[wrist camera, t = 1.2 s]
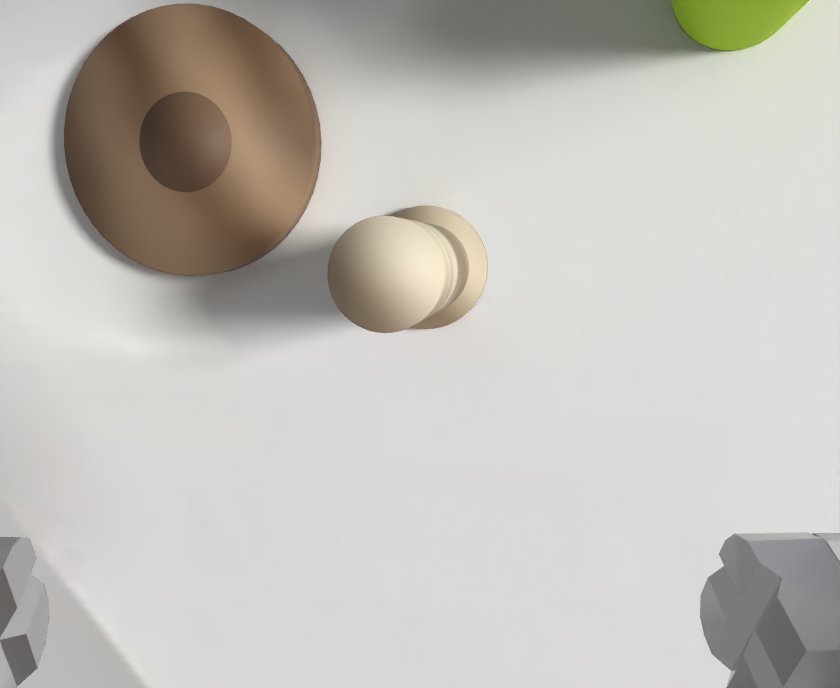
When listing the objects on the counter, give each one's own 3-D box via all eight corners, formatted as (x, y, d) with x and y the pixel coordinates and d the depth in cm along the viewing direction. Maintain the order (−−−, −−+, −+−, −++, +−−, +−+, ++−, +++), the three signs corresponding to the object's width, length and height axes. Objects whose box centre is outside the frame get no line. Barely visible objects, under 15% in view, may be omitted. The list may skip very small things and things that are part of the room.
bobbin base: (213, -45, 41) (200, -56, 40) (373, 165, 41) (366, 162, 40) (33, 127, 44) (15, 123, 43) (183, 324, 44) (170, 326, 43)
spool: (437, 181, 41) (397, 158, 30) (511, 278, 41) (498, 290, 30) (345, 256, 42) (274, 260, 32) (417, 351, 42) (371, 386, 32)
